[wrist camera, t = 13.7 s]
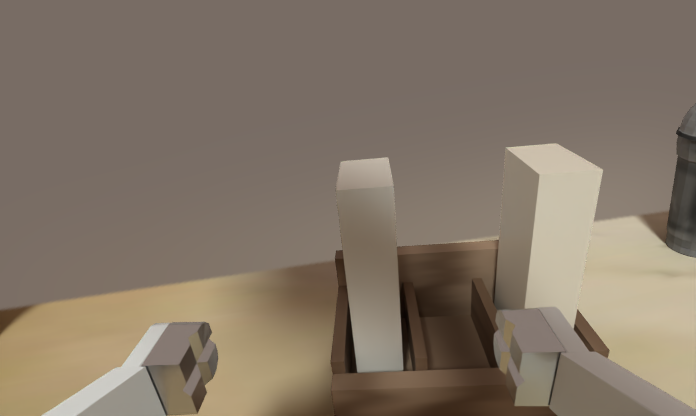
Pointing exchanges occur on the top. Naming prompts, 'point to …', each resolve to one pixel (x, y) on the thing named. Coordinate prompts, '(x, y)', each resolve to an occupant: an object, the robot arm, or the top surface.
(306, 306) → the top surface
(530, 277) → the clay strip
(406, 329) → the wooden divided tray
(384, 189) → the clay strip
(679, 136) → the beverage cup
